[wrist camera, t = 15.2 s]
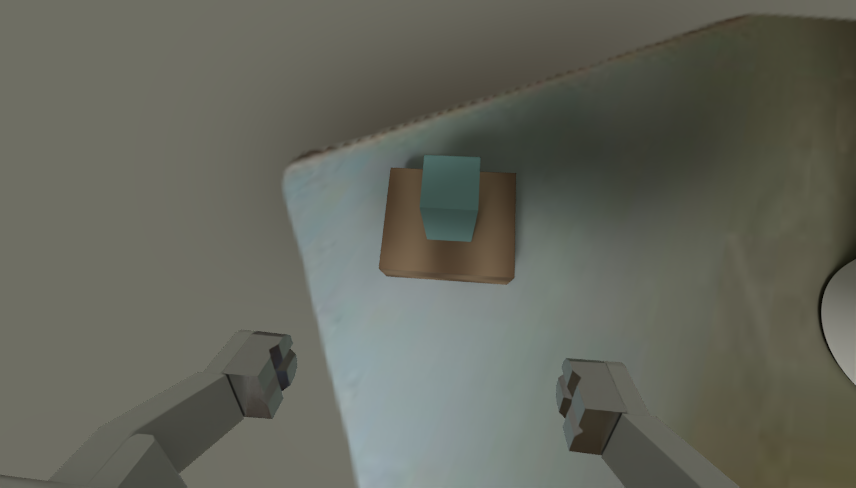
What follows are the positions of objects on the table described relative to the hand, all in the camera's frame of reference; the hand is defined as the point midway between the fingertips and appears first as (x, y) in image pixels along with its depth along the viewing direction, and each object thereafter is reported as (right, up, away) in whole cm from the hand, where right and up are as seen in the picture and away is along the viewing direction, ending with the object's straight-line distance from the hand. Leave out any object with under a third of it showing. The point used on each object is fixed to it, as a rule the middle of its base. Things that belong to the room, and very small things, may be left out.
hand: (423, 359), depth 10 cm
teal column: (+2, +6, +21) cm, 22 cm away
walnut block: (+2, +5, +25) cm, 26 cm away
